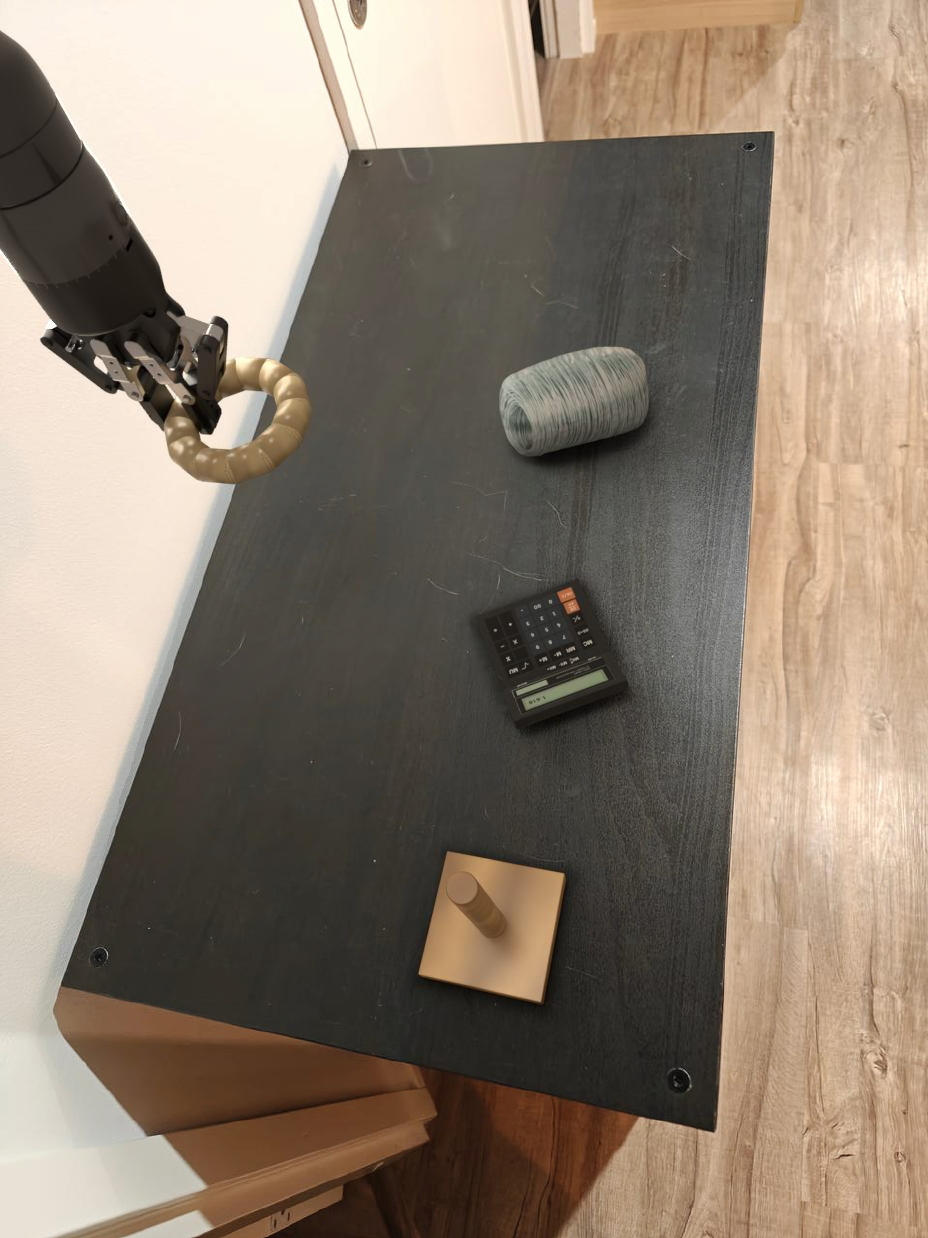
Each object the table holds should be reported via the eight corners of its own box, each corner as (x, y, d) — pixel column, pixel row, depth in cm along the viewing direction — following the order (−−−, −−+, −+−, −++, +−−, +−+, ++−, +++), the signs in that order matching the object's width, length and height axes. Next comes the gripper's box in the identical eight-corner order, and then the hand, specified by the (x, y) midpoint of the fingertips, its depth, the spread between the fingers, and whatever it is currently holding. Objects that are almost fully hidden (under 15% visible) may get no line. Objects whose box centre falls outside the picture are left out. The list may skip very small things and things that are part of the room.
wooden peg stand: (422, 977, 69) (373, 947, 57) (450, 855, 73) (410, 804, 61) (543, 1005, 66) (518, 980, 55) (566, 878, 70) (547, 829, 59)
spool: (502, 475, 84) (508, 365, 79) (491, 434, 92) (496, 331, 87) (652, 474, 85) (669, 366, 80) (628, 433, 93) (642, 332, 88)
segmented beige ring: (153, 483, 69) (137, 463, 66) (203, 369, 73) (189, 347, 71) (289, 495, 66) (277, 475, 64) (332, 376, 70) (322, 353, 68)
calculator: (578, 583, 82) (576, 566, 79) (630, 699, 76) (629, 684, 73) (476, 621, 82) (470, 604, 79) (520, 739, 76) (515, 726, 73)
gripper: (-60, 277, 55) (92, 458, 70) (149, 282, 52) (262, 471, 67) (-5, 190, 59) (129, 380, 74) (195, 189, 55) (293, 389, 70)
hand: (192, 423), depth 70 cm, fingers closed on segmented beige ring, 2 cm apart
